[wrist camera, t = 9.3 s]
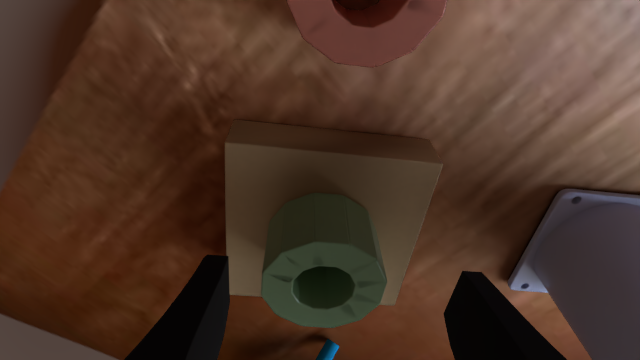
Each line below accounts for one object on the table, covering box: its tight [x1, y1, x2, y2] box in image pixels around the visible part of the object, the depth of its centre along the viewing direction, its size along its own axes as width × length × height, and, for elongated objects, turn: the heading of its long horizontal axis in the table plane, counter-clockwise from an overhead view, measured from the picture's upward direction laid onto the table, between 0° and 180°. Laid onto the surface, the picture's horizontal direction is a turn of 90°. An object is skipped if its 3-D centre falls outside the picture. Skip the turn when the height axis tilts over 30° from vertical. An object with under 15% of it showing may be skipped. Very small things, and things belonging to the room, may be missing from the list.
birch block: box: [225, 120, 443, 305], centre depth 21 cm, size 10×10×2 cm
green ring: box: [261, 193, 387, 328], centre depth 18 cm, size 6×6×4 cm
